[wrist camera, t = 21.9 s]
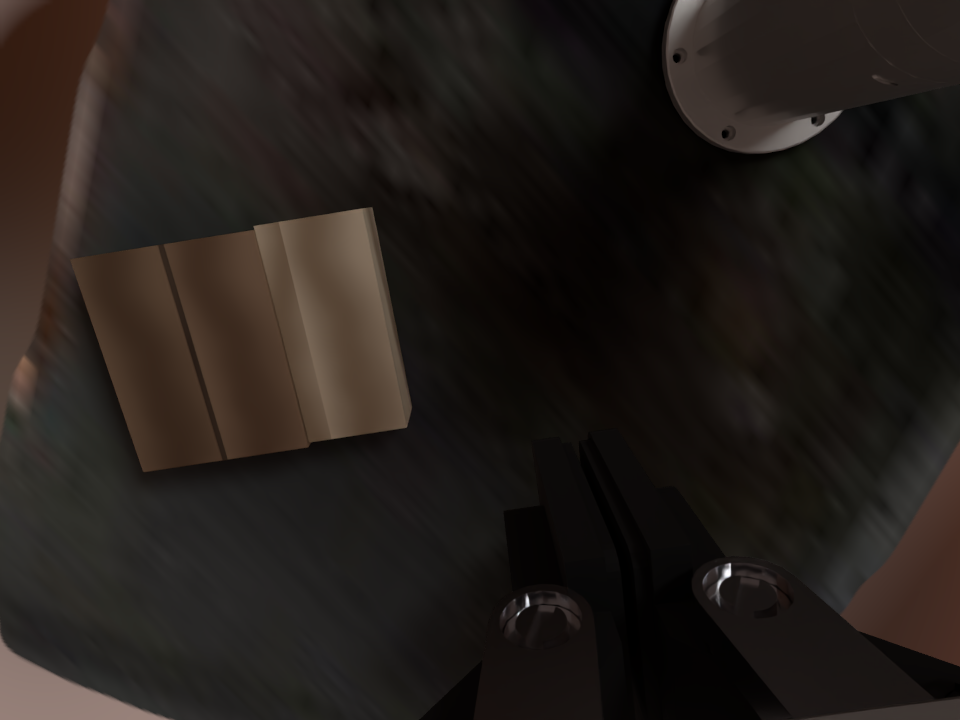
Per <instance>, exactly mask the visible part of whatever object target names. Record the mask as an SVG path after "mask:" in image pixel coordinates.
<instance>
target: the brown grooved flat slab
mask: <svg viewBox="0 0 960 720" xmlns="http://www.w3.org/2000/svg"><path fill="white" fill-rule="evenodd" d="M70 261H71V264H72V266H73V269H74V272H75V275H76V278H77V281H78V284H79V287H80V290H81V293H82V296H83V298H84V301H85V304H86V307H87V310H88V313H89V316H90V319H91V322H92V325H93V327H94V330H95V333H96V336H97V339H98V342H99V345H100V348H101V351H102V354H103V357H104V359H105V362H106V365H107V368H108V371H109V374H110V377H111V380H112V383H113V386H114V388H115V391H116V394H117V397H118V400H119V403H120V406H121V409H122V412H123V415H124V418H125V420H126V423H127V426H128V429H129V432H130V435H131V438H132V441H133V444H134V447H135V449H136V452H137V455H138V458H139V461H140V464H141V467H142V470H143V472H148V471H155V470H162V469H168V468H175V467H181V466H188V465H195V464H201V463H208V462H214V461H221V460H223V461H224V460H228V459H234V458H241V457H248V456H254V455H261V454H267V453H274V452H281V451H287V450H294V449H300V448H307V447H309V445H310V444H311V442H310V443H309V440H308V436H307V432H306V428H305V424H304V421H303V417H302V413H301V409H300V405H299V401H298V397H297V393H296V389H295V385H294V382H293V378H292V374H291V370H290V366H289V362H288V358H287V354H286V350H285V346H284V343H283V339H282V335H281V331H280V327H279V323H278V319H277V315H276V311H275V307H274V304H273V300H272V296H271V292H270V288H269V284H268V280H267V276H266V272H265V268H264V265H263V261H262V257H261V253H260V249H259V245H258V241H257V237H256V233H255V230H250V231H244V232H238V233H231V234H225V235H219V236H213V237H206V238H200V239H194V240H187V241H181V242H175V243H169V244H162V245H156V246H150V247H144V248H137V249H131V250H125V251H118V252H112V253H106V254H100V255H94V256H88V257H81V258H75V259H70Z"/></svg>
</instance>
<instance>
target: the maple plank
mask: <svg viewBox="0 0 960 720" xmlns="http://www.w3.org/2000/svg"><path fill="white" fill-rule="evenodd" d="M254 229H255V233H256V237H257V241H258V245H259V249H260V253H261V257H262V261H263V265H264V268H265V272H266V276H267V280H268V284H269V288H270V292H271V296H272V300H273V304H274V307H275V311H276V315H277V319H278V323H279V327H280V331H281V335H282V339H283V343H284V346H285V350H286V354H287V358H288V362H289V366H290V370H291V374H292V378H293V382H294V385H295V389H296V393H297V397H298V401H299V405H300V409H301V413H302V417H303V421H304V424H305V428H306V432H307V436H308V440H309V443H310V442H316V441H323V440H329V439H336V438H342V437H349V436H355V435H362V434H368V433H375V432H381V431H388V430H394V429H401V428H407V425H408V421H409V418H410V414H411V410H412V404H411V399H410V394H409V389H408V384H407V379H406V374H405V369H404V364H403V359H402V354H401V349H400V344H399V339H398V334H397V329H396V324H395V319H394V314H393V309H392V304H391V299H390V294H389V289H388V284H387V279H386V274H385V269H384V264H383V259H382V254H381V249H380V244H379V239H378V234H377V229H376V224H375V219H374V214H373V209H372V207H371V208H363V209H356V210H350V211H344V212H338V213H332V214H326V215H319V216H313V217H307V218H301V219H295V220H289V221H282V222H276V223H270V224H264V225H258V226H254Z"/></svg>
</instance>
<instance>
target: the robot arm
mask: <svg viewBox="0 0 960 720" xmlns="http://www.w3.org/2000/svg"><path fill="white" fill-rule="evenodd" d="M673 55H677V56H678V59H679V60H678V62H677V63H675V62H674V61H673V58H672V57H673ZM662 69H663V74H664V79H665V84H666V88H667V91H668V93H669V96H670V98H671V101H672V103H673V106H674V107H675V109H676V110H677V112H678V113H679V115H680V116H681V118H682V120H683V121H684V122H685V123H686V124H687V125H688V126H689V127H690V128H691V129H692V130H693V131H694V132H695V133H696V134H697V135H698V136H699V137H701V138H702V139H704V140H705V141H707V142H709V143H710V144H712V145H714V146H716V147H719V148H721V149H724V150H727V151H729V152H736V153H743V154H760V153H770V152H775V151H781V150H785V149H787V148H790V147H793V146H796V145H798V144H801V143H803V142H805V141H806V140H808V139H810V138H812V137H813V136H815V135H817V134H818V133H820V132H821V131H822V130H823V129H825V128H826V127H827V126H828V125H829V124H831V123H832V122H833V121H834V120H835V119H836V118H837V117H838V116H839V115H840V114H841V113H842V111H843V110H846V109H850V108H854V107H859V106H863V105H868V104H872V103H877V102H881V101H886V100H890V99H894V98H899V97H903V96H908V95H912V94H917V93H921V92H925V91H930V90H934V89H939V88H943V87H948V86H952V85H957V84H960V0H673V1H672V4H671V7H670V10H669V13H668V16H667V19H666V22H665V27H664V34H663V40H662ZM811 117H812V118H813V123H811ZM723 130H724V131H725V132H726V137H725V138H722V131H723ZM532 450H533V457H534V464H535V472H536V479H537V486H538V493H539V500H540V506H534V507H527V508H521V509H514V510H507V511H504V520H505V528H506V537H507V546H508V554H509V563H510V571H511V580H512V589H513V592H511V593H510V594H508V595H507V596H505V597H504V598H502V599H501V600H500V601H499V603H498V604H497V605H496V606H495V607H494V608H493V610H492V613H491V616H490V618H489V622H488V629H487V635H486V642H485V648H484V655H483V660H482V661H481V662H480V663H479V664H478V665H477V666H476V667H475V668H474V669H473V670H471V671H470V672H469V673H468V674H467V675H466V676H465V677H464V678H463V679H462V680H461V681H460V682H459V683H458V684H457V685H456V686H455V687H453V688H452V689H451V690H450V691H449V692H448V693H447V694H446V695H445V696H444V697H443V698H442V699H441V700H440V701H439V702H438V703H437V704H435V705H434V706H433V707H432V708H431V709H430V710H429V711H428V712H427V713H426V714H425V715H424V716H423V717H422V718H421V719H420V720H636V718H635V708H634V698H633V690H634V693H635V696H636V699H637V702H638V705H639V708H640V711H641V714H642V717H643V720H960V667H959V666H957V665H954V664H951V663H948V662H945V661H942V660H939V659H936V658H934V657H931V656H928V655H925V654H922V653H919V652H916V651H914V650H911V649H908V648H905V647H902V646H899V645H897V644H894V643H891V642H888V641H885V640H882V639H879V638H877V637H874V636H871V635H868V634H865V633H862V632H859V631H857V630H856V629H855V628H854V627H853V626H851V625H850V624H849V623H848V622H847V621H846V620H845V619H843V618H842V617H841V616H840V615H839V614H838V613H837V612H836V611H834V610H833V609H832V608H831V607H830V606H829V605H828V604H826V603H825V602H824V601H823V600H822V599H821V598H820V597H818V596H817V595H816V594H815V593H814V592H813V591H812V590H811V589H809V588H808V587H807V586H806V585H805V584H804V583H803V582H801V581H800V580H799V579H798V578H797V577H796V576H794V575H793V574H791V573H790V572H788V571H787V570H786V569H784V568H783V567H780V566H778V565H776V564H773V563H771V562H768V561H765V560H761V559H756V558H752V557H739V556H731V557H725V555H724V554H723V553H722V551H721V550H720V548H719V547H718V546H717V544H716V543H715V541H714V540H713V539H712V537H711V536H710V534H709V533H708V532H707V530H706V529H705V527H704V526H703V525H702V523H701V522H700V520H699V519H698V518H697V516H696V515H695V513H694V512H693V511H692V509H691V508H690V506H689V505H688V504H687V502H686V501H685V499H684V498H683V497H682V495H681V494H680V492H679V491H678V490H677V489H676V488H675V487H674V486H669V487H663V488H656V489H655V487H654V485H653V484H652V482H651V481H650V479H649V478H648V476H647V474H646V473H645V471H644V470H643V468H642V467H641V465H640V464H639V462H638V460H637V459H636V457H635V456H634V454H633V453H632V451H631V450H630V448H629V446H628V445H627V443H626V442H625V440H624V439H623V437H622V436H621V434H620V432H619V431H618V430H617V428H614V429H608V430H601V431H594V432H589V433H588V440H584V441H579V453H580V461H581V465H580V462H579V460H578V458H577V455H576V453H575V451H574V448H573V446H572V444H571V442H570V443H564V444H562V443H561V441H560V438H559V437H554V438H548V439H541V440H534V441H532ZM632 687H633V688H632Z"/></svg>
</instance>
